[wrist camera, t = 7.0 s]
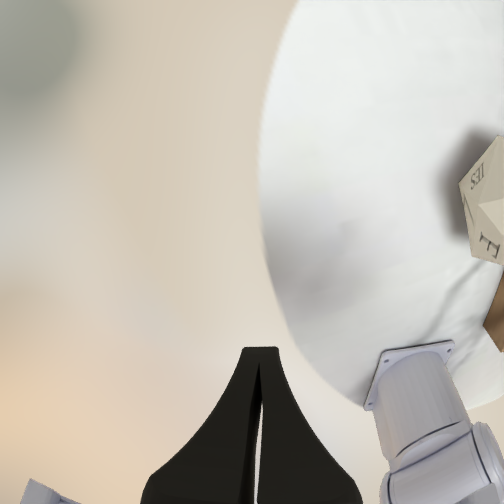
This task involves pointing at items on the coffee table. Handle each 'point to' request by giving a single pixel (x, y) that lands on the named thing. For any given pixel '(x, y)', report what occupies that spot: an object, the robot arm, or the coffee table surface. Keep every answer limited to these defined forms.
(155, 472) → the robot arm
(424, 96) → the coffee table surface
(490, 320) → the walnut board
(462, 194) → the die
